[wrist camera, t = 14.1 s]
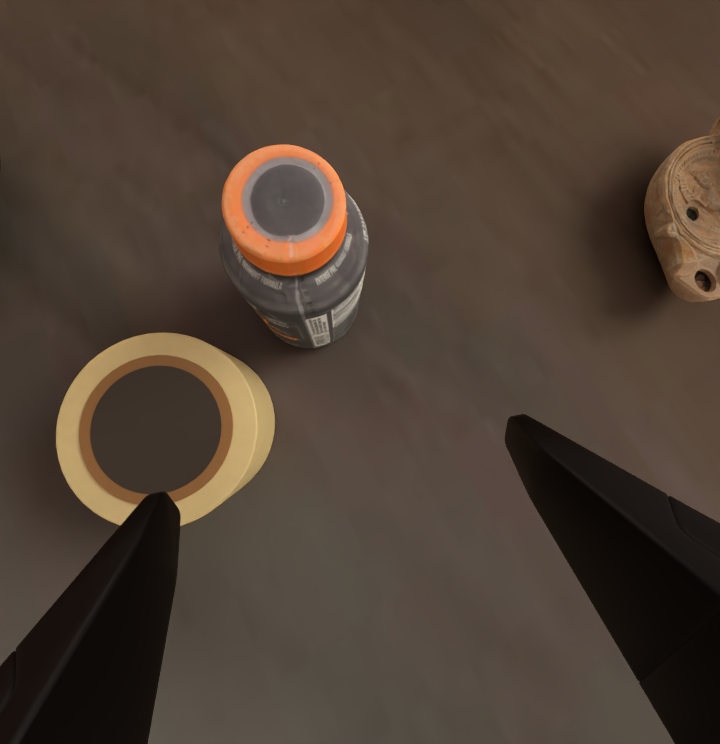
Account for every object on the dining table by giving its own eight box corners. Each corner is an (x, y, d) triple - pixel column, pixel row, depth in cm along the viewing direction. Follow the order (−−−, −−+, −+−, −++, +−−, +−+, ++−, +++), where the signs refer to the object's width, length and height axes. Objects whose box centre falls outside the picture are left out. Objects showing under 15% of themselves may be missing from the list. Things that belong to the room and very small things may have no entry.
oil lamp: (705, 327, 24) (801, 305, 19) (600, 287, 24) (667, 254, 19) (749, 156, 26) (847, 94, 21) (650, 117, 26) (724, 46, 21)
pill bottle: (243, 287, 23) (151, 164, 11) (325, 240, 23) (313, 80, 12) (295, 369, 22) (249, 324, 11) (376, 318, 23) (413, 228, 12)
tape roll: (211, 535, 21) (172, 573, 16) (85, 444, 21) (8, 453, 16) (305, 406, 22) (295, 405, 17) (184, 320, 22) (141, 294, 17)
